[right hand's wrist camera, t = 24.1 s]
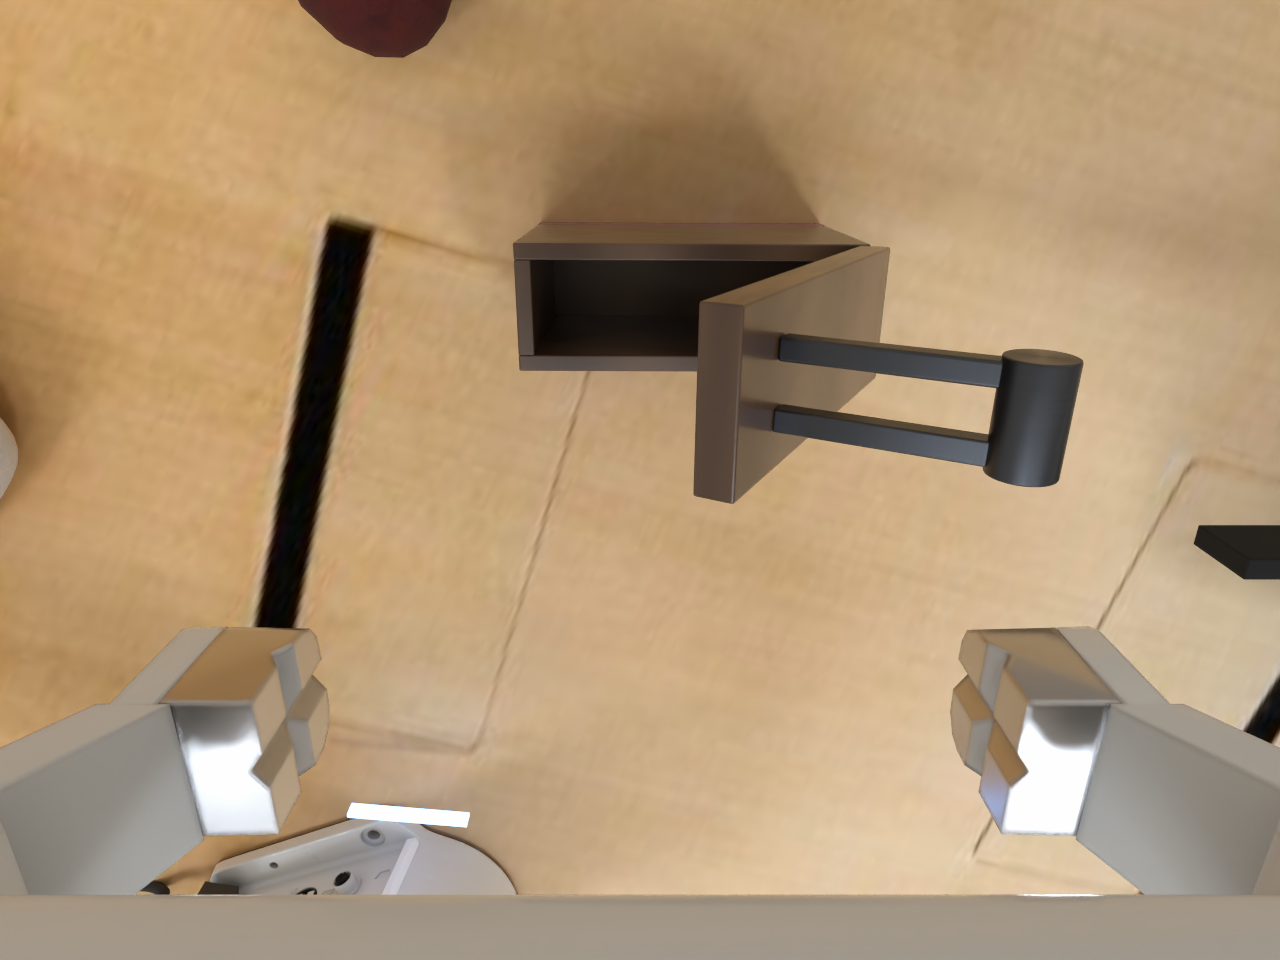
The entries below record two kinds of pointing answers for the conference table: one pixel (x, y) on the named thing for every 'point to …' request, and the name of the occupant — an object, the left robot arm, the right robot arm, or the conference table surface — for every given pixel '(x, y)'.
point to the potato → (380, 23)
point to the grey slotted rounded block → (7, 457)
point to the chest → (642, 287)
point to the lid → (855, 382)
